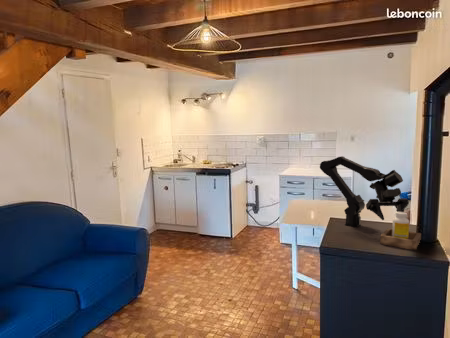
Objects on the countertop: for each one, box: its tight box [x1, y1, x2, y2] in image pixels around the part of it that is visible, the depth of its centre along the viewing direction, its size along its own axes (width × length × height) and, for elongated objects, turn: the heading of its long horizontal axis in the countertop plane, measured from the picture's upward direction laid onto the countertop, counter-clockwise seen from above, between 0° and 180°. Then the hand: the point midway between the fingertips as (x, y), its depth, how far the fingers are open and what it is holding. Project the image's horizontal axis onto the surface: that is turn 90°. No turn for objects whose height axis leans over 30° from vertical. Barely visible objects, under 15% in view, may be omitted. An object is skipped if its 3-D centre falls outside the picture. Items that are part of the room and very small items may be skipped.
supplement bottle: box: [391, 211, 410, 239], centre depth 156 cm, size 7×7×13 cm
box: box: [380, 228, 422, 251], centre depth 156 cm, size 14×14×4 cm
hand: (393, 219), depth 162 cm, fingers open, 9 cm apart
